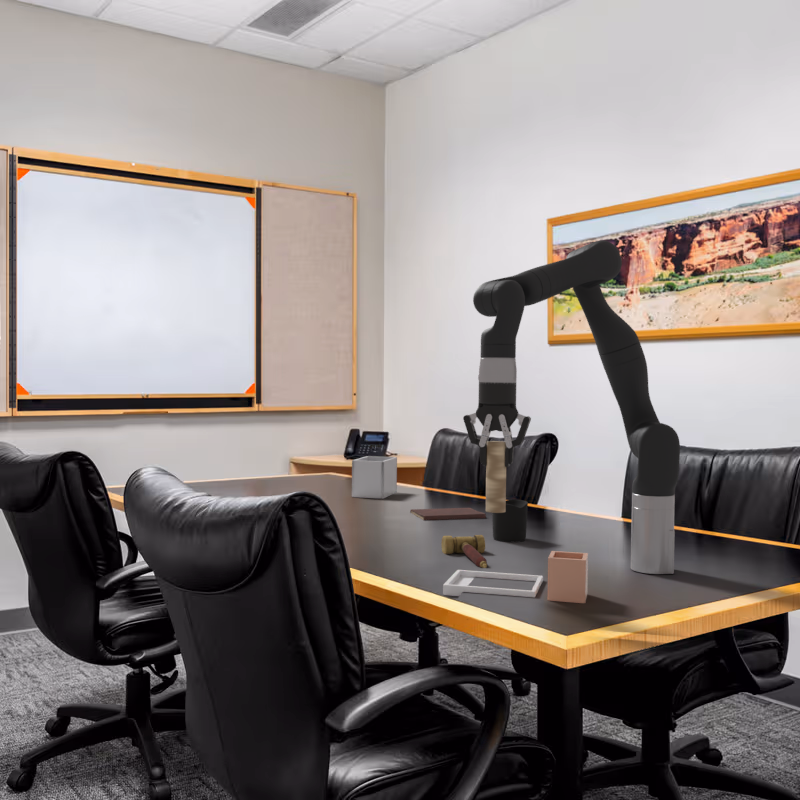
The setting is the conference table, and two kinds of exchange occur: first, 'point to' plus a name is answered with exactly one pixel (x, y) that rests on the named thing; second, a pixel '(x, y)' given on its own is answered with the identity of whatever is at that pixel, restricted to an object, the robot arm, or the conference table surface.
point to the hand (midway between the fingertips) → (496, 465)
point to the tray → (464, 578)
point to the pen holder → (511, 522)
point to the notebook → (448, 514)
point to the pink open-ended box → (567, 576)
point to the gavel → (466, 548)
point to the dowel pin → (495, 477)
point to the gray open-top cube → (374, 477)
